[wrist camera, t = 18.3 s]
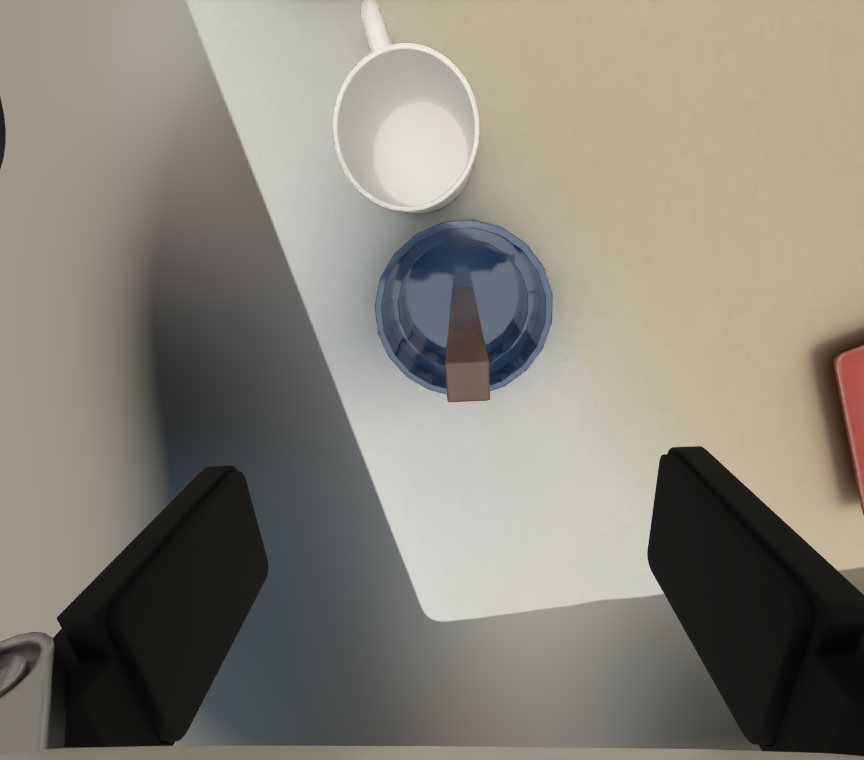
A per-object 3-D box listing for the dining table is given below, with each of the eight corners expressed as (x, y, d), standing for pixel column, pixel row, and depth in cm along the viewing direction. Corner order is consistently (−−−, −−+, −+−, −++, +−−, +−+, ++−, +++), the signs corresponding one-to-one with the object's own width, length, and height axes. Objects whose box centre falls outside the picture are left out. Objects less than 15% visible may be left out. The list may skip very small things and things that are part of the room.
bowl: (396, 374, 40) (386, 399, 34) (379, 227, 35) (364, 228, 30) (537, 366, 39) (550, 391, 33) (538, 214, 34) (554, 213, 29)
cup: (389, 227, 35) (364, 231, 26) (333, 64, 31) (279, -2, 22) (486, 193, 34) (497, 182, 24) (439, 18, 30) (430, -75, 21)
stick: (453, 309, 37) (447, 403, 18) (452, 288, 36) (445, 362, 18) (474, 308, 37) (490, 401, 18) (473, 287, 36) (488, 360, 17)
